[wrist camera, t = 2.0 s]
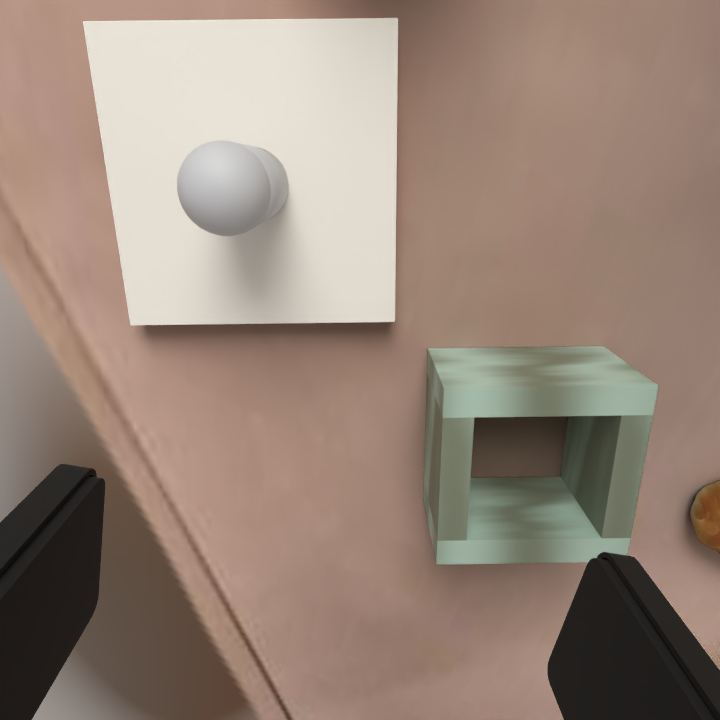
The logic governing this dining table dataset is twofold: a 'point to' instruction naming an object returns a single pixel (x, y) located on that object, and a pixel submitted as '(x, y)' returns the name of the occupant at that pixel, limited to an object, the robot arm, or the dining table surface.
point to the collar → (535, 494)
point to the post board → (262, 106)
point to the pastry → (707, 515)
